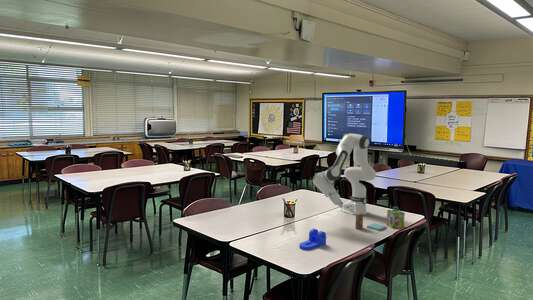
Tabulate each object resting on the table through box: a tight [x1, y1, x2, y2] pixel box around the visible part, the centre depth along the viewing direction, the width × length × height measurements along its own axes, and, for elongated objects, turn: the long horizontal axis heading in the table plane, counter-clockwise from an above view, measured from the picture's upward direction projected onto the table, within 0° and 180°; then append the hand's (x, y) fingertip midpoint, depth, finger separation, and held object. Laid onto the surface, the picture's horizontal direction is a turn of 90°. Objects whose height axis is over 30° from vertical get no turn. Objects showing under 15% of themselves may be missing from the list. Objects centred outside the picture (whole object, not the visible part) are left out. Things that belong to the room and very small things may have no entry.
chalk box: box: [386, 206, 405, 229], centre depth 261 cm, size 9×9×15 cm
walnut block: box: [355, 212, 364, 230], centre depth 256 cm, size 5×5×11 cm
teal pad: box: [366, 222, 387, 232], centre depth 257 cm, size 10×10×2 cm
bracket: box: [299, 228, 327, 251], centre depth 219 cm, size 18×8×9 cm, turn 131°
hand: (342, 205), depth 258 cm, fingers open, 8 cm apart
